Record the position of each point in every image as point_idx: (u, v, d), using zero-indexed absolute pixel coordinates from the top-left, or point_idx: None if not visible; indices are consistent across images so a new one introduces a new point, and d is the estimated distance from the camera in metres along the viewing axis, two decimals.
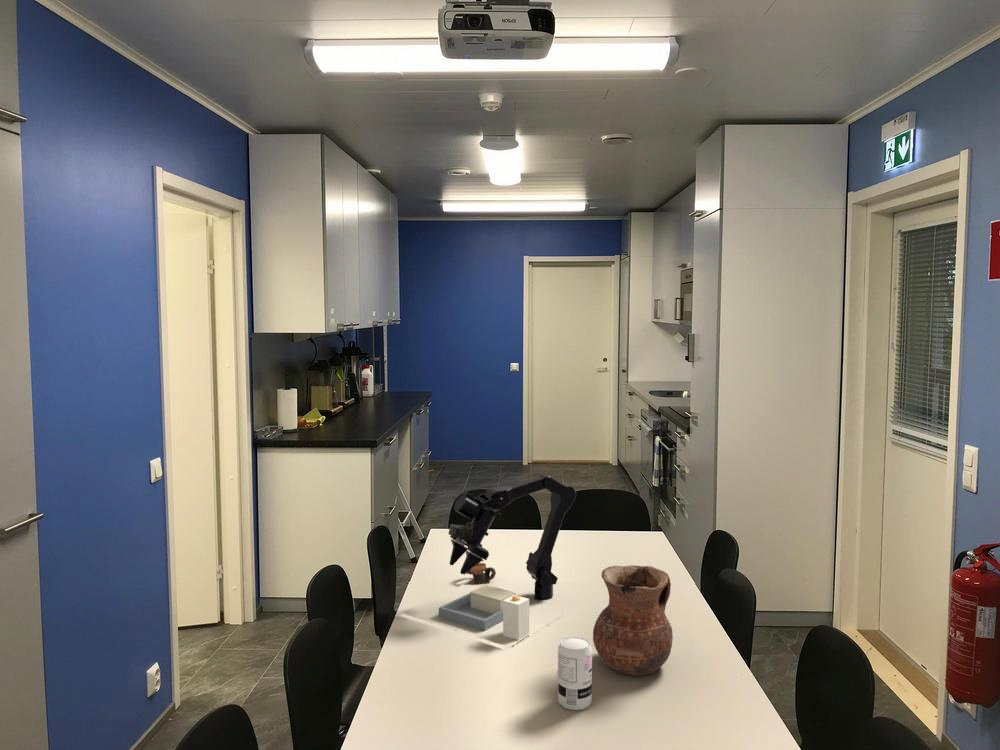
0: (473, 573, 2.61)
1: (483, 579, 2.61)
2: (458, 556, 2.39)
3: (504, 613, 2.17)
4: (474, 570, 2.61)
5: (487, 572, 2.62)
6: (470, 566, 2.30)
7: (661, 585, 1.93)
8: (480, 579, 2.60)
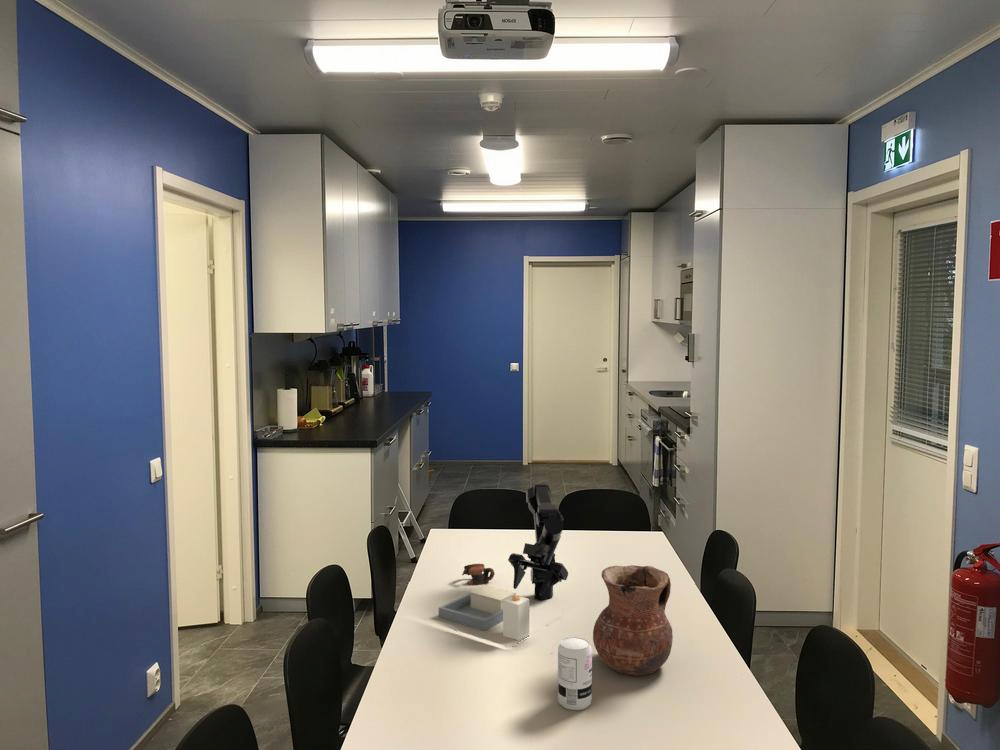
0: (472, 574, 2.60)
1: (482, 579, 2.60)
2: (520, 579, 2.27)
3: (504, 613, 2.17)
4: (473, 571, 2.61)
5: (486, 573, 2.62)
6: (548, 587, 2.21)
7: (661, 585, 1.93)
8: (479, 579, 2.60)
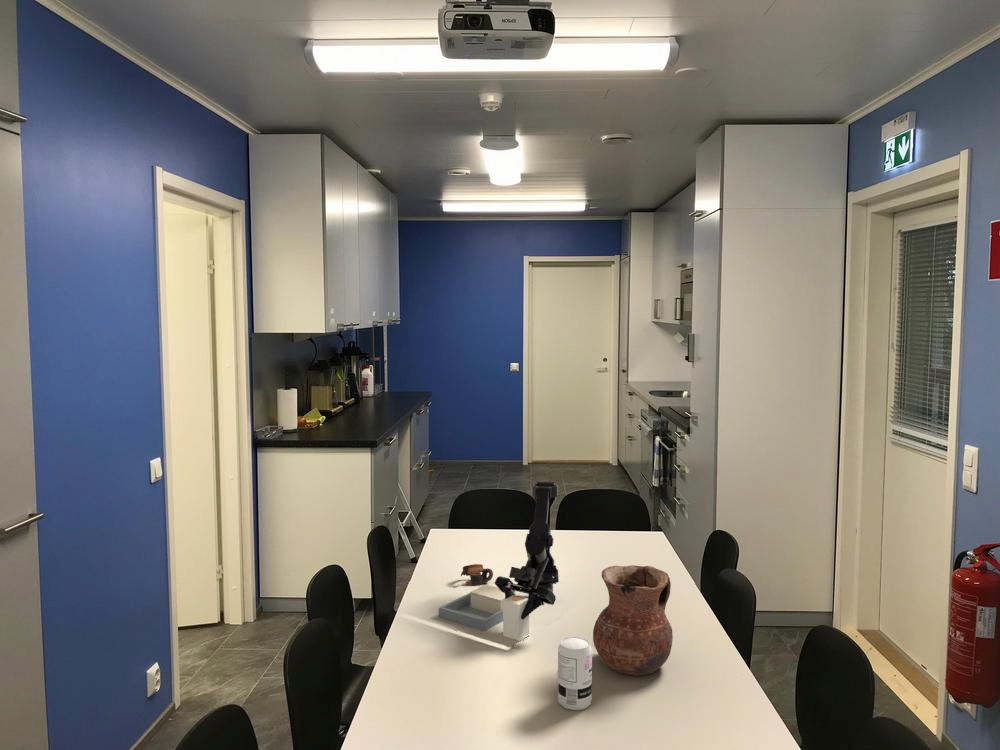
0: (470, 574, 2.59)
1: (481, 580, 2.59)
2: None
3: (504, 613, 2.17)
4: (471, 571, 2.60)
5: (484, 573, 2.61)
6: (530, 610, 2.17)
7: (661, 585, 1.93)
8: (478, 580, 2.59)
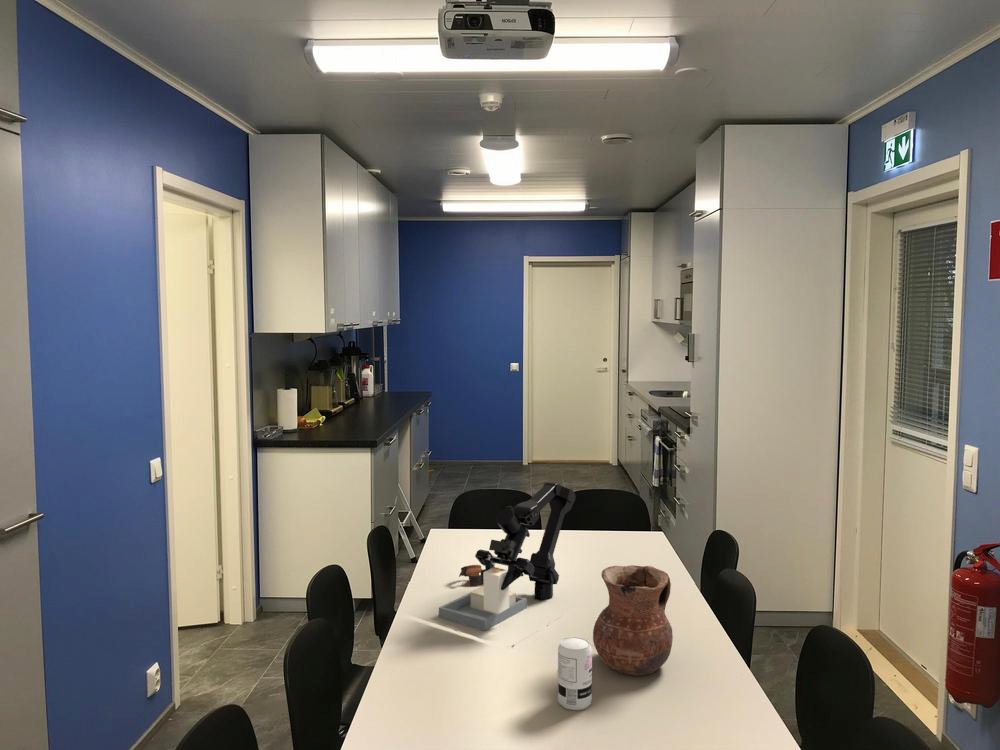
0: (469, 575, 2.59)
1: (479, 580, 2.59)
2: None
3: (485, 585, 2.22)
4: (470, 572, 2.59)
5: None
6: (510, 582, 2.22)
7: (661, 585, 1.93)
8: (476, 581, 2.58)
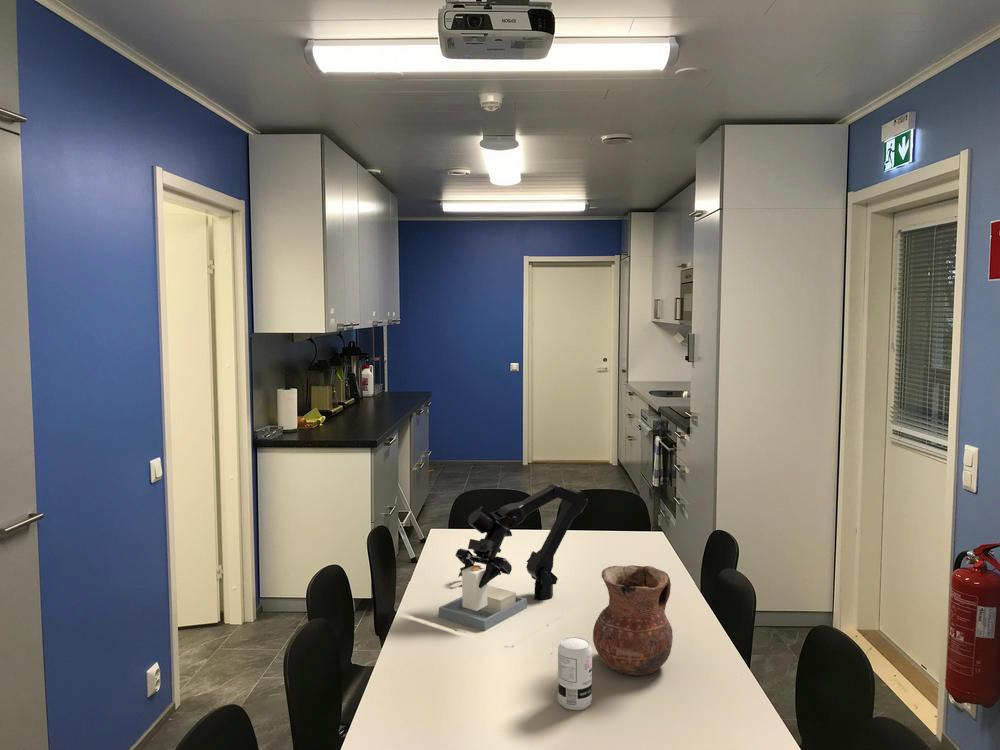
0: None
1: None
2: None
3: (463, 583, 2.30)
4: None
5: None
6: (488, 580, 2.29)
7: (661, 585, 1.93)
8: None
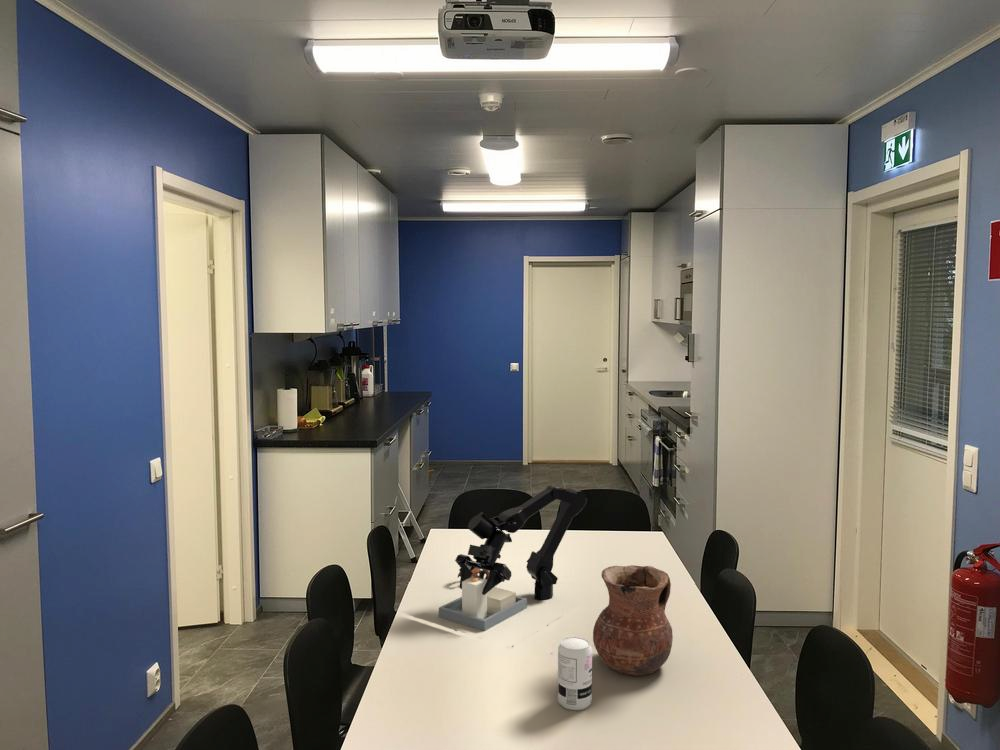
0: None
1: None
2: None
3: (463, 594, 2.30)
4: None
5: (481, 575, 2.60)
6: (491, 587, 2.29)
7: (661, 585, 1.93)
8: None
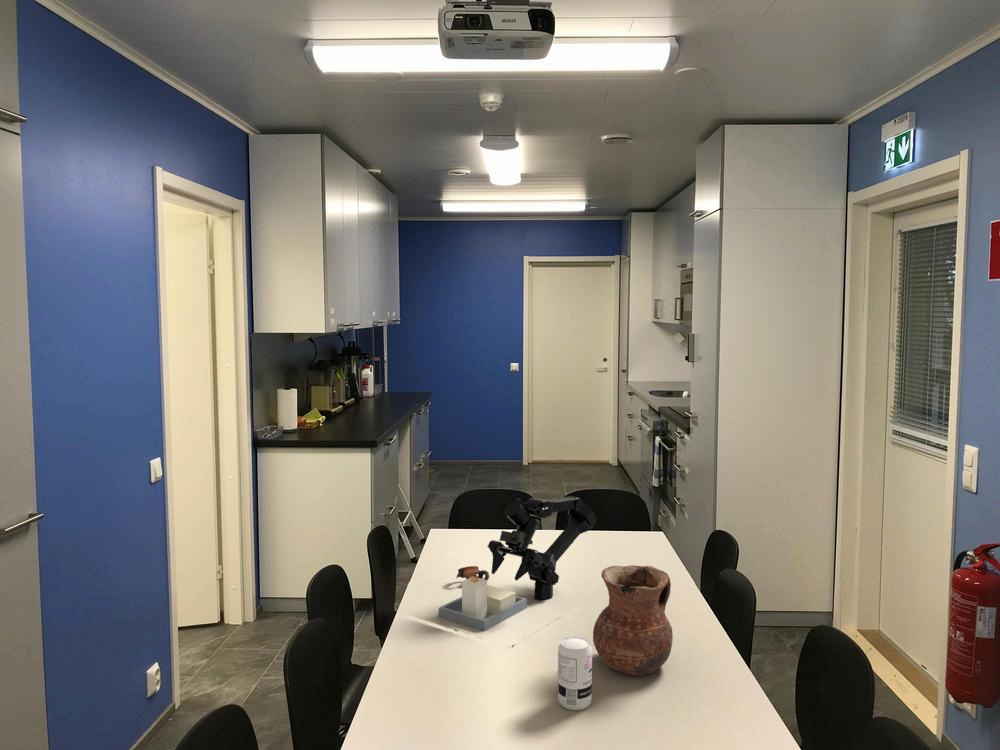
0: (466, 576, 2.57)
1: None
2: (498, 565, 2.37)
3: (463, 594, 2.30)
4: (467, 573, 2.58)
5: (480, 575, 2.59)
6: (524, 572, 2.31)
7: (661, 585, 1.93)
8: None
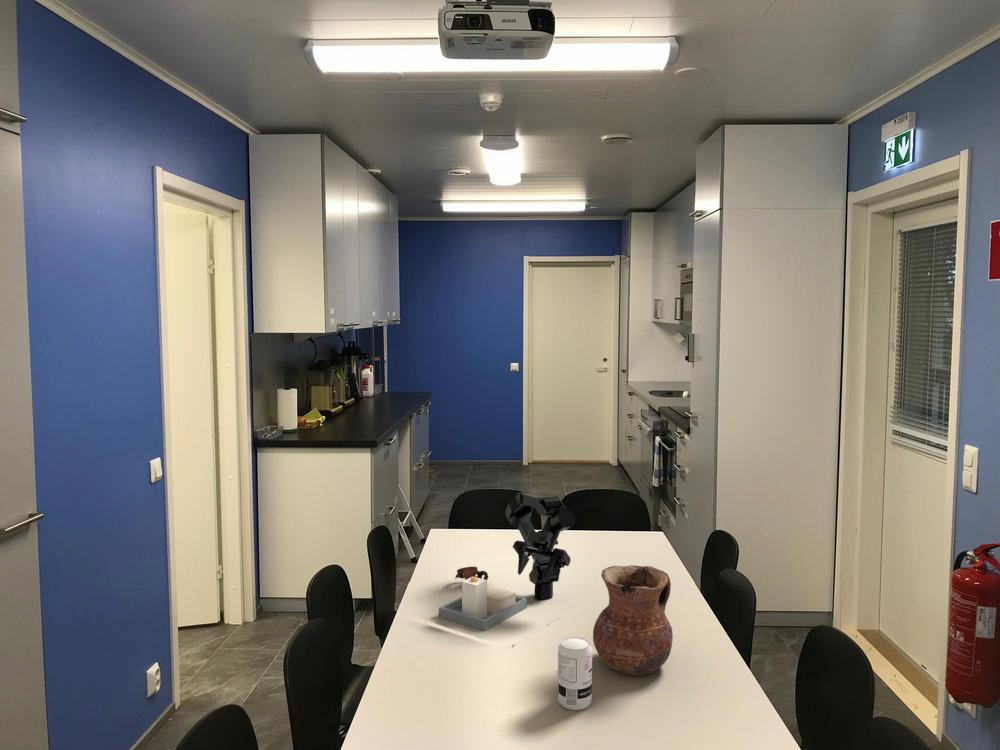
0: (465, 577, 2.57)
1: None
2: (524, 566, 2.36)
3: (463, 594, 2.30)
4: (466, 574, 2.57)
5: (479, 576, 2.59)
6: (552, 572, 2.29)
7: (661, 585, 1.93)
8: None
